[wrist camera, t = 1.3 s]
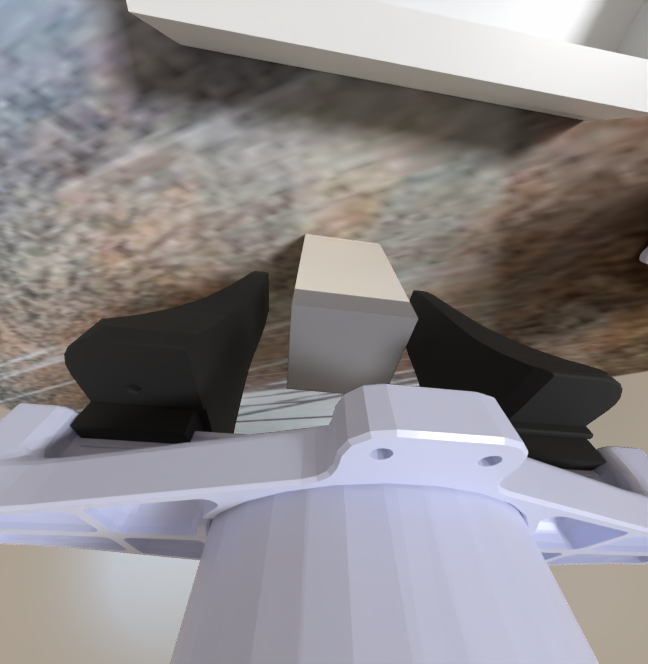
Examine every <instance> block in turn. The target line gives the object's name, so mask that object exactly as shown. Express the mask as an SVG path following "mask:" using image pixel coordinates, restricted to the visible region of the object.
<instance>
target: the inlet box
mask: <svg viewBox="0 0 648 664" xmlns="http://www.w3.org/2000/svg"><path fill="white" fill-rule="evenodd" d="M126 3H127V7H128V11H129V12H130V13H132V14H133V15H135V16H136V17H138V18H139V19H141V20H143V21H144V22H146V23H147V24H149V25H150V26H152V27H153V28H155V29H157V30H158V31H160V32H161V33H163V34H164V35H166V36H167V37H169V38H171V39H172V40H174V41H175V42H177V43H178V44H180V45H184V46H189V47H194V48H200V49H205V50H210V51H216V52H221V53H226V54H232V55H237V56H242V57H248V58H253V59H258V60H264V61H269V62H274V63H280V64H285V65H291V66H296V67H301V68H307V69H312V70H317V71H323V72H328V73H333V74H339V75H344V76H349V77H355V78H360V79H365V80H371V81H376V82H381V83H387V84H392V85H397V86H403V87H408V88H413V89H419V90H424V91H429V92H435V93H440V94H446V95H451V96H456V97H462V98H467V99H472V100H478V101H483V102H488V103H494V104H499V105H504V106H510V107H515V108H520V109H526V110H531V111H536V112H542V113H547V114H552V115H558V116H563V117H568V118H574V119H579V120H585V121H587V120H603V119H618V118H634V117H648V0H126Z"/></svg>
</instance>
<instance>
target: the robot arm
mask: <svg viewBox="0 0 648 664" xmlns="http://www.w3.org/2000/svg"><path fill="white" fill-rule="evenodd" d="M639 260H640V261H641V262H643V263H646V264H648V246H647V247H646V249H645V250H644V251H643V252H642V253H641V254H640V257H639ZM410 303H411V305H412V307H413V309H414V311H415V313H416V315H417V317H418V321H417V323H416V325H415V327H414V330H413V332H412V334H411V336H410V339H409V341H408V343H407V345H406V349H407V352H408V354H409V357H410V360H411V362H412V365H413V368H414V370H415V373H416V376H417V379H418V382H419V385H420V387H417V386H406V385H394V384H373V385H363V386H361V387H359V388H357V389H355V390H352V391H350V392H348V393H346V394H345V395H344V396H343V397H342V398H341V400H340V401H339V402H338V404H337V405H336V407H335V410H334V413H333V417H332V420H331V422H330V424H329V425H326V426H318V427H310V428H301V429H293V430H285V431H277V432H269V433H260V434H252V435H245V434H234V429H235V424H236V420H237V415H238V411H239V406H240V402H241V398H242V394H243V390H244V386H245V382H246V378H247V374H248V370H249V367H250V364H251V361H252V358H253V356H254V353H255V351H256V348H257V346H258V343H259V341H260V338H261V335H262V333H263V330H264V327H265V324H266V320H267V315H268V311H269V285H268V273H266V272H258V271H254V272H252V273H250V274H249V275H247V276H245V277H244V278H242V279H240V280H239V281H237V282H235V283H234V284H232V285H230V286H228V287H226V288H224V289H222V290H220V291H218V292H216V293H214V294H212V295H210V296H207V297H205V298H202V299H200V300H197V301H194V302H191V303H188V304H184V305H181V306H177V307H174V308H170V309H166V310H161V311H156V312H151V313H146V314H140V315H133V316H125V317H117V318H108V319H101V320H100V321H99V322H97V323H96V324H95V325H94V326H93V327H91V328H90V329H89V330H88V331H87V332H85V333H84V334H83V335H82V336H80V337H79V338H78V339H77V340H76V341H74V342H73V343H72V344H71V345H69V346H68V348H67V350H66V352H65V354H64V356H65V364H66V366H67V368H68V370H69V372H70V374H71V375H72V376H73V378H74V379H75V380H76V382H77V383H78V385H79V386H80V387H81V389H82V390H83V391H84V393H85V394H86V395H87V397H88V398H89V399H90V401H91V402H90V403H89V404H88V405H87V406H86V408H85V409H84V410H83V411H82V412H81V413H78V412H77V411H76V410H74V409H72V408H70V407H66V406H59V405H46V404H32V403H21V404H18V405H17V406H16V407H15V408H14V409H13V410H12V411H10V412H9V413H8V414H7V415H6V416H5V417H3V418H2V419H1V420H0V544H17V545H18V544H19V545H37V546H52V547H67V548H78V549H91V550H101V551H111V552H122V553H131V554H132V553H133V554H142V555H153V556H162V557H172V558H183V559H192V560H200V563H199V566H198V570H197V573H196V577H195V580H194V583H193V587H192V591H191V594H190V597H189V600H188V604H187V607H186V611H185V614H184V618H183V621H182V624H181V628H180V631H179V634H178V638H177V641H176V645H175V648H174V651H173V655H172V658H171V662H170V664H599V663H598V661H597V659H596V657H595V655H594V653H593V651H592V649H591V647H590V645H589V644H588V642H587V640H586V638H585V636H584V634H583V632H582V630H581V628H580V626H579V624H578V623H577V621H576V619H575V617H574V615H573V613H572V611H571V609H570V607H569V605H568V603H567V601H566V599H565V598H564V596H563V594H562V592H561V590H560V588H559V586H558V584H557V582H556V580H555V578H554V577H553V575H552V573H551V571H550V569H549V567H548V565H576V564H648V456H647V455H646V454H645V453H644V452H643V451H642V450H641V449H638V448H629V447H615V446H606V447H602V448H598V449H595V448H594V447H593V446H592V444H591V443H590V442H589V441H588V440H587V439H591V438H592V437H593V434H592V433H591V431H590V430H589V429H588V428H587V427H586V425H588V424H589V423H591V422H592V421H593V420H595V419H596V418H598V417H599V416H600V415H602V414H603V413H605V412H606V411H608V410H609V409H610V408H611V407H613V406H614V405H615V404H616V403H617V401H618V400H619V399H620V397H621V393H622V387H621V384H620V383H619V382H617V381H616V380H615V379H614V378H613V377H611V376H610V375H609V374H608V373H606V372H605V371H603V370H600V369H597V368H594V367H590V366H587V365H583V364H580V363H576V362H572V361H569V360H565V359H562V358H559V357H556V356H553V355H550V354H547V353H544V352H541V351H538V350H536V349H533V348H530V347H528V346H525V345H523V344H520V343H518V342H515V341H513V340H511V339H508V338H506V337H504V336H502V335H500V334H498V333H496V332H494V331H492V330H490V329H488V328H486V327H484V326H482V325H480V324H478V323H477V322H475V321H473V320H472V319H470V318H468V317H467V316H465V315H463V314H462V313H460V312H459V311H457V310H456V309H454V308H452V307H451V306H449V305H448V304H446V303H445V302H443V301H442V300H440V299H439V298H437V297H435V296H434V295H432V294H430V293H428V292H424V291H416V290H414V291H413V293H412V296H411V298H410Z"/></svg>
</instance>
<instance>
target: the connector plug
mask: <svg viewBox="0 0 648 664" xmlns="http://www.w3.org/2000/svg"><path fill="white" fill-rule="evenodd" d="M417 321H418V317H417V315H416V313H415V311H414V309H413V307H412V305H411V303H410V301H409V299H408V298H407V296H406V294H405V292H404V290H403V288H402V286H401V284H400V282H399V280H398V278H397V276H396V274H395V273H394V271H393V269H392V267H391V265H390V263H389V261H388V259H387V257H386V255H385V253H384V251H383V249H382V247H381V246H380V244H377V243H369V242H362V241H355V240H347V239H340V238H332V237H325V236H317V235H310V234H305V239H304V244H303V249H302V254H301V259H300V264H299V270H298V275H297V280H296V285H295V290H294V295H293V300H292V306H291V324H290V341H289V358H288V376H287V389H296V390H307V391H319V392H331V393H343V394H346V393H348V392H350V391H352V390H355V389H357V388H359V387H361V386H363V385H373V384H389V383H390V381H391V379H392V377H393V374H394V372H395V370H396V368H397V365H398V363H399V361H400V359H401V356H402V354H403V352H404V350H405V348H406V345H407V343H408V341H409V339H410V336H411V334H412V332H413V330H414V327H415V325H416V323H417Z"/></svg>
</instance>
